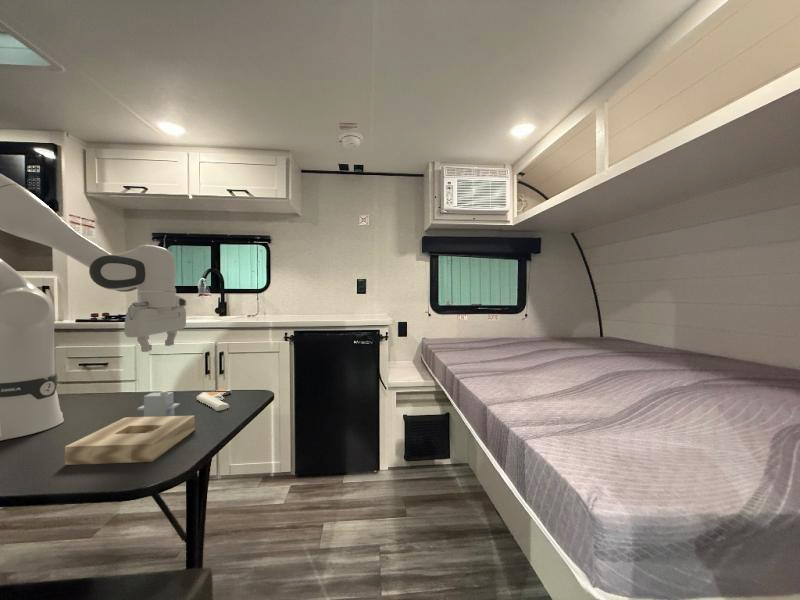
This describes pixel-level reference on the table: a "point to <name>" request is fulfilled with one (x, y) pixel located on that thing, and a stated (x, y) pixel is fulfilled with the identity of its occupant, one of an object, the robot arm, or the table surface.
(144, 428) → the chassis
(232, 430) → the table surface
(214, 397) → the pistol
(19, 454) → the table surface
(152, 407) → the block
